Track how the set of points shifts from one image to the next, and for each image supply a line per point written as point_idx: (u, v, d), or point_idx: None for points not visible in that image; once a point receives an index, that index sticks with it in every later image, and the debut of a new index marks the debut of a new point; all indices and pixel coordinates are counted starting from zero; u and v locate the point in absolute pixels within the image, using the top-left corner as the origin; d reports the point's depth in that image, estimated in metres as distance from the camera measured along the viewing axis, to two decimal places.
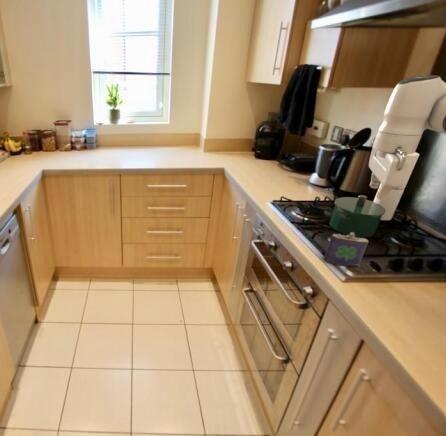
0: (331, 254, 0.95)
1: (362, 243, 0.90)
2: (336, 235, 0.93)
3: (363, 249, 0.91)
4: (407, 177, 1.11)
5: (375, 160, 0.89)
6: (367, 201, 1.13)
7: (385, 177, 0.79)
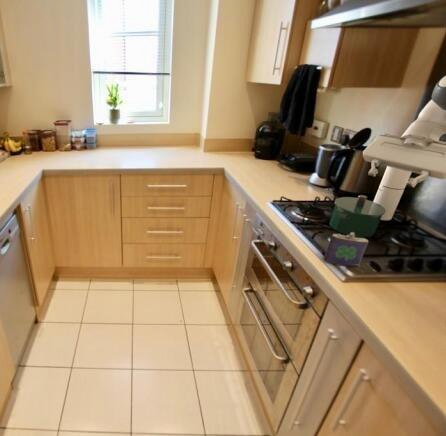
0: (331, 254, 0.95)
1: (362, 243, 0.90)
2: (336, 235, 0.93)
3: (363, 249, 0.91)
4: (407, 177, 1.11)
5: None
6: (367, 201, 1.13)
7: None
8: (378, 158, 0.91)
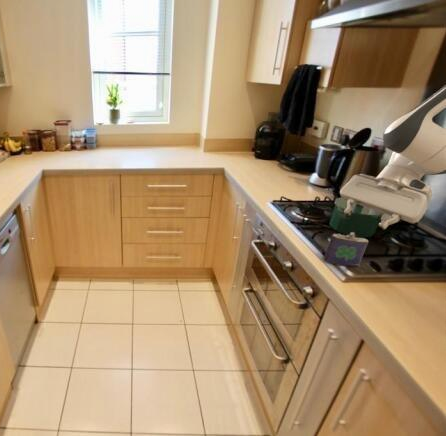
0: (331, 254, 0.95)
1: (362, 243, 0.90)
2: (336, 235, 0.93)
3: (363, 249, 0.91)
4: None
5: None
6: None
7: None
8: (353, 198, 0.95)
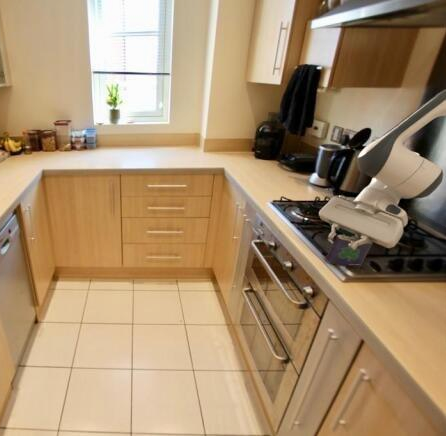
0: (334, 255, 0.94)
1: (366, 245, 0.89)
2: (340, 236, 0.92)
3: (366, 251, 0.90)
4: None
5: None
6: None
7: None
8: (332, 220, 0.94)
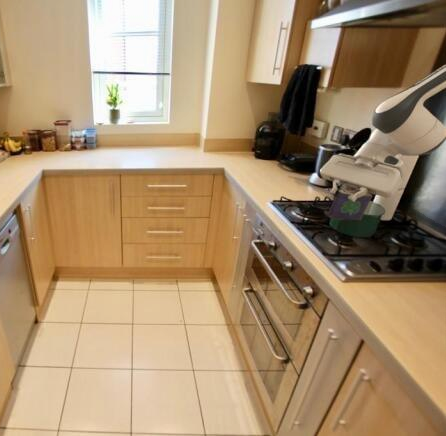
0: (336, 210, 0.97)
1: (367, 198, 0.93)
2: (342, 191, 0.95)
3: (367, 203, 0.94)
4: (407, 177, 1.11)
5: None
6: None
7: None
8: (332, 176, 0.98)
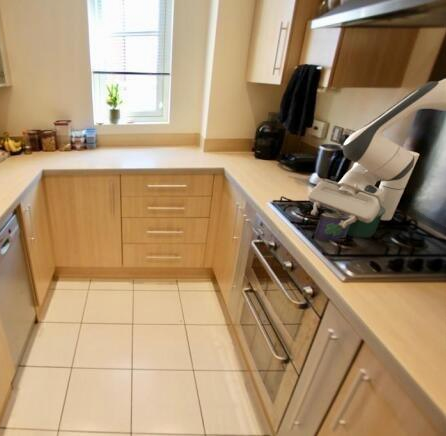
0: (321, 231, 1.07)
1: None
2: (325, 214, 1.05)
3: (348, 225, 1.04)
4: (407, 177, 1.11)
5: None
6: None
7: None
8: (319, 201, 1.07)
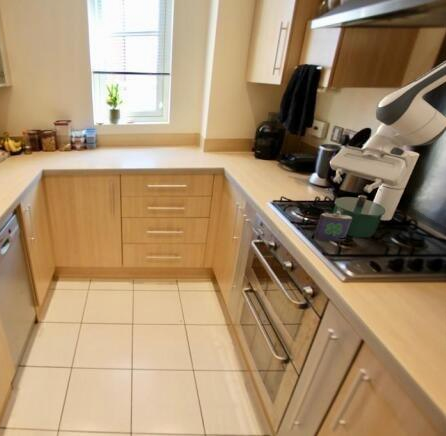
0: (321, 231, 1.07)
1: (347, 220, 1.03)
2: (325, 214, 1.05)
3: (348, 225, 1.04)
4: (407, 177, 1.11)
5: None
6: (367, 201, 1.13)
7: None
8: (342, 167, 1.05)
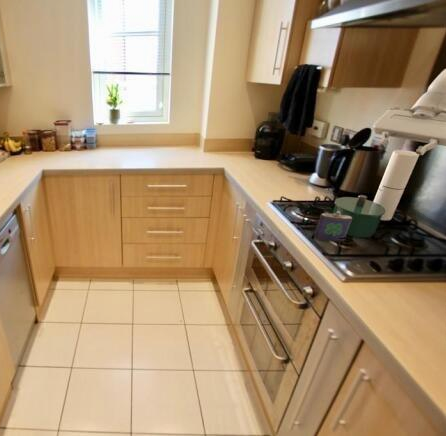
0: (321, 231, 1.07)
1: (347, 220, 1.03)
2: (325, 214, 1.05)
3: (348, 225, 1.04)
4: (407, 177, 1.11)
5: None
6: (367, 201, 1.13)
7: None
8: (388, 130, 0.95)
